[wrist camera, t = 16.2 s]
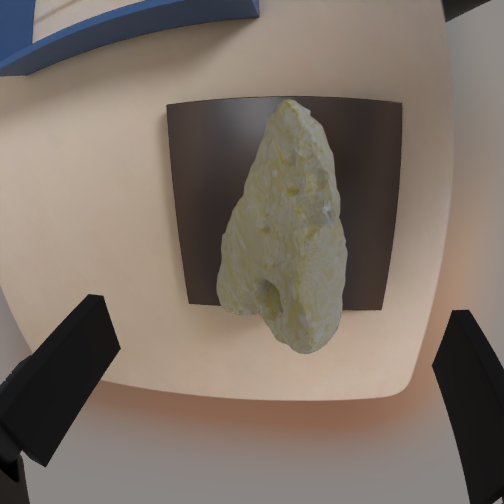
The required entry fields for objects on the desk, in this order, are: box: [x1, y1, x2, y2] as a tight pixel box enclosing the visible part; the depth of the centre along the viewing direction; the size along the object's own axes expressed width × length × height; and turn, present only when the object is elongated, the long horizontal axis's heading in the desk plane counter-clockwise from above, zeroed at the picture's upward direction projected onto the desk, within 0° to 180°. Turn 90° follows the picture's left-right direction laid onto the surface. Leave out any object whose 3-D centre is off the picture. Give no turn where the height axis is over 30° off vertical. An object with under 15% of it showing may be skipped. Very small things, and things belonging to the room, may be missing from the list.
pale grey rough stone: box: [216, 99, 348, 354], centre depth 23 cm, size 15×7×15 cm
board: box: [166, 96, 402, 310], centre depth 26 cm, size 18×18×2 cm
